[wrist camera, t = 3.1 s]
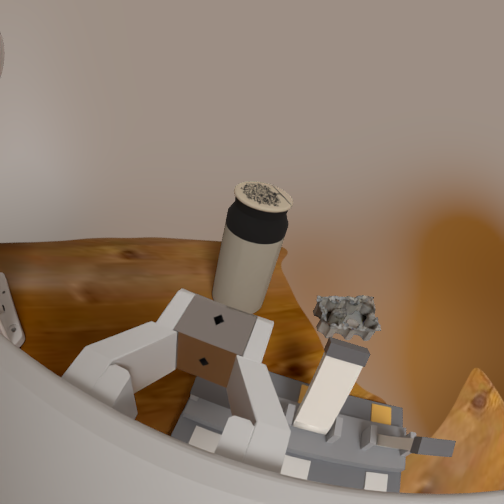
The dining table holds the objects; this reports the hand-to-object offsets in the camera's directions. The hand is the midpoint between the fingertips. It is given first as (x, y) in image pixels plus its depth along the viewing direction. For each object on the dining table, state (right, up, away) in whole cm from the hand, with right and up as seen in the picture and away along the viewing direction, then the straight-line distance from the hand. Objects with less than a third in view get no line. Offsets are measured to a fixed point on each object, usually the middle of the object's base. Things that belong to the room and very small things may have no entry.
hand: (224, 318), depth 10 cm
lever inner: (-2, -13, +22) cm, 26 cm away
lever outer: (+17, -20, +20) cm, 32 cm away
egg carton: (+16, -10, +40) cm, 44 cm away
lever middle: (+7, -17, +21) cm, 27 cm away
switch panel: (+6, -20, +23) cm, 31 cm away
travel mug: (-1, -5, +40) cm, 41 cm away
